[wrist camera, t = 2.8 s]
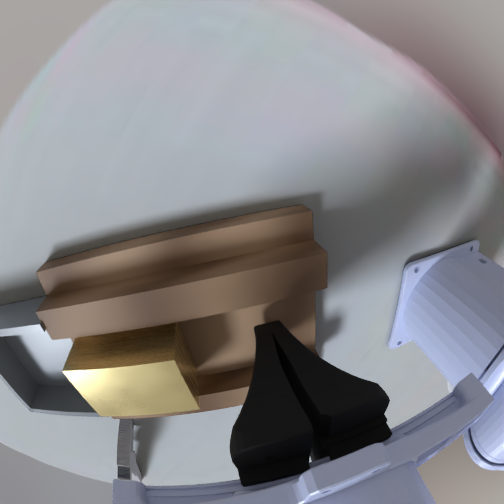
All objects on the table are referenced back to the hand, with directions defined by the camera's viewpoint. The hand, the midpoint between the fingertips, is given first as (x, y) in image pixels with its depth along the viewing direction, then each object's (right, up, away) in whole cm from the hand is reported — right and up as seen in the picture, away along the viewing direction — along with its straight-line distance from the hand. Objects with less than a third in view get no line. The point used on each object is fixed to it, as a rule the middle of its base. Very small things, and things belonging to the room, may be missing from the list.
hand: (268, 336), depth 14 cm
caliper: (-14, -18, +8) cm, 24 cm away
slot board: (-4, 0, +1) cm, 5 cm away
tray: (-15, -2, 0) cm, 15 cm away
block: (-7, -1, 0) cm, 7 cm away
